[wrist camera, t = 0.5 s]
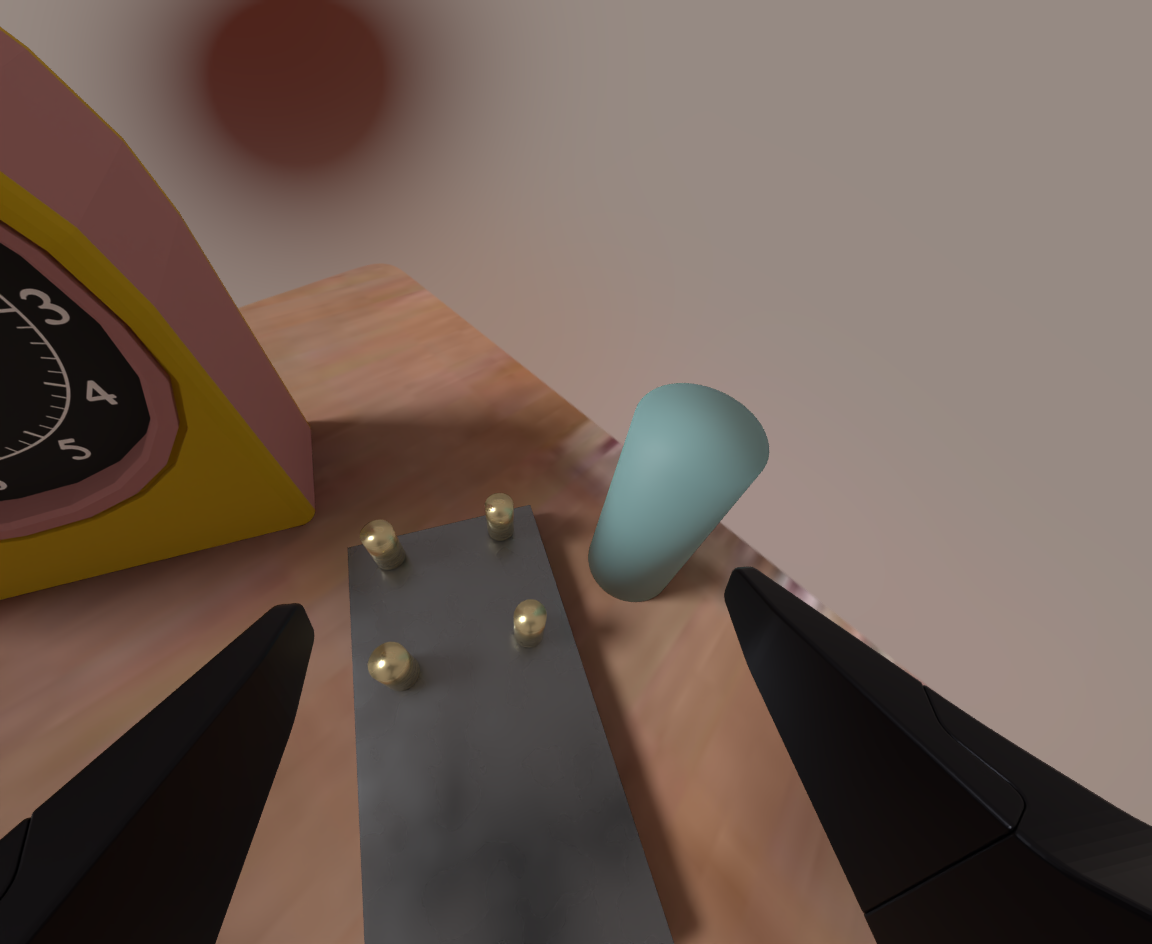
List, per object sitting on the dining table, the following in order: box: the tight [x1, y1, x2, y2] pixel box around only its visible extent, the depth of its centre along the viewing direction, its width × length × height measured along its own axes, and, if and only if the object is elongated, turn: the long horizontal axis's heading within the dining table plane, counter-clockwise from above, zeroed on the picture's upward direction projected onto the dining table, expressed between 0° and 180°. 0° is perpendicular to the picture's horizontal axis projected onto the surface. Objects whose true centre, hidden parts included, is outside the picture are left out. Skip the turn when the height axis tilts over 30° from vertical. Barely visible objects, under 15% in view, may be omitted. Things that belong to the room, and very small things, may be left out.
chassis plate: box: [348, 493, 674, 944], centre depth 19 cm, size 21×11×4 cm, turn 19°
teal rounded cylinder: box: [588, 383, 769, 602], centre depth 22 cm, size 6×6×13 cm
